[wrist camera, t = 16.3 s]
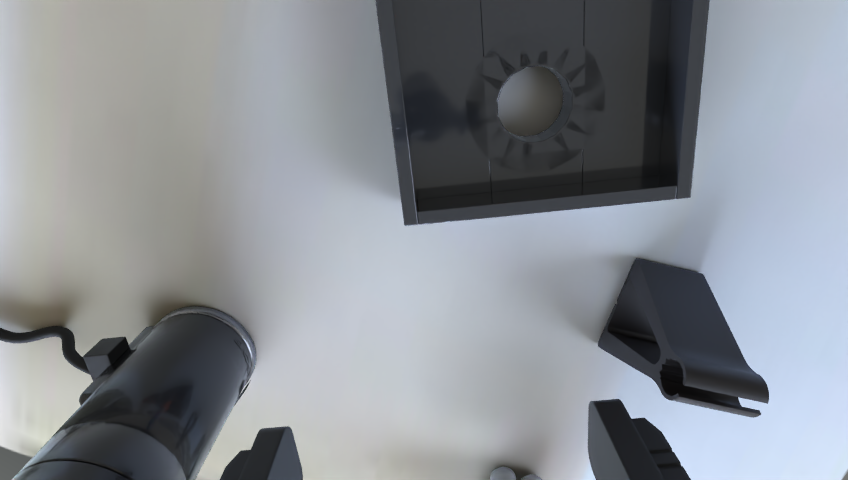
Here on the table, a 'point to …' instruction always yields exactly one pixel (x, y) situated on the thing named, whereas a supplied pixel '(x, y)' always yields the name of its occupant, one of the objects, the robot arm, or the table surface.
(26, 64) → the table surface
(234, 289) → the table surface
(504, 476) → the toy rhinoceros
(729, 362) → the phone stand
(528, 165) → the sink
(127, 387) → the robot arm
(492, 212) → the dark grey tray
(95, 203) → the table surface
